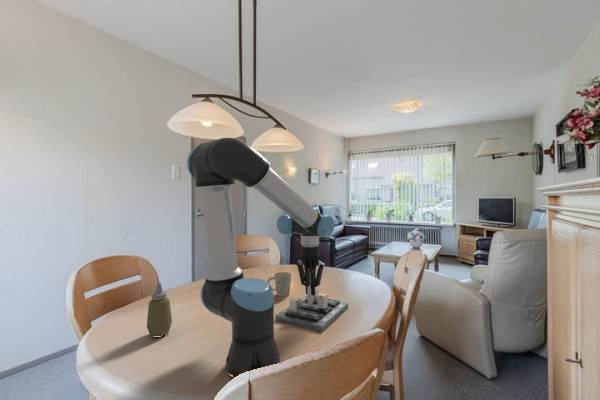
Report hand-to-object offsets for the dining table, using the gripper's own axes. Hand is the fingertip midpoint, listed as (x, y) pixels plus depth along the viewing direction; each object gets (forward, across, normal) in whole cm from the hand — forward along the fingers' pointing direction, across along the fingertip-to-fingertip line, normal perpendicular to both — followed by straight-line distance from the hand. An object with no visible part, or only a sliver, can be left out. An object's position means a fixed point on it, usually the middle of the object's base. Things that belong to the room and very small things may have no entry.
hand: (310, 302), depth 119 cm
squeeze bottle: (+4, +37, +42) cm, 57 cm away
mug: (+5, +25, -13) cm, 28 cm away
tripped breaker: (+1, -5, 0) cm, 6 cm away
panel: (+4, -1, 0) cm, 4 cm away
